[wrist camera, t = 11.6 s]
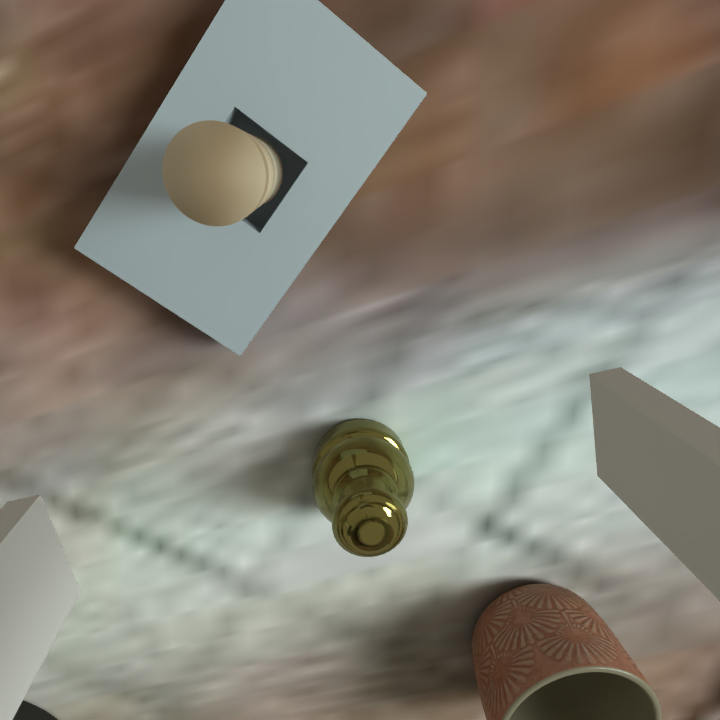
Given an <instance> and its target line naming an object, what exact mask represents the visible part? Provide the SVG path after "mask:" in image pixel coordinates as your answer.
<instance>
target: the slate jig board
mask: <svg viewBox="0 0 720 720" xmlns="http://www.w3.org/2000/svg"><path fill="white" fill-rule="evenodd" d="M426 95H427V93H426V92H425V91H424V90H423V89H422V88H420V87H419V86H418V85H417V84H416V83H414V82H413V81H412V80H411V79H410V78H409V77H407V76H406V75H405V74H404V73H403V72H402V71H400V70H399V69H398V68H397V67H396V66H395V65H393V64H392V63H391V62H390V61H389V60H388V59H386V58H385V57H384V56H383V55H382V54H380V53H379V52H378V51H377V50H376V49H375V48H373V47H372V46H371V45H370V44H369V43H368V42H366V41H365V40H364V39H363V38H362V37H361V36H359V35H358V34H357V33H356V32H355V31H353V30H352V29H351V28H350V27H349V26H348V25H346V24H345V23H344V22H343V21H342V20H341V19H339V18H338V17H337V16H336V15H335V14H334V13H332V12H331V11H330V10H329V9H328V8H327V7H325V6H324V5H323V4H322V3H321V2H319V1H318V0H225V1H224V3H223V5H222V6H221V8H220V9H219V11H218V13H217V14H216V16H215V18H214V19H213V21H212V23H211V24H210V26H209V28H208V29H207V31H206V32H205V34H204V36H203V37H202V39H201V41H200V42H199V44H198V46H197V47H196V49H195V50H194V52H193V54H192V55H191V57H190V59H189V60H188V62H187V64H186V65H185V67H184V68H183V70H182V72H181V73H180V75H179V77H178V78H177V80H176V82H175V83H174V85H173V86H172V88H171V90H170V91H169V93H168V95H167V96H166V98H165V100H164V101H163V103H162V104H161V106H160V108H159V109H158V111H157V113H156V114H155V116H154V118H153V119H152V121H151V122H150V124H149V126H148V127H147V129H146V131H145V132H144V134H143V136H142V137H141V139H140V141H139V142H138V144H137V145H136V147H135V149H134V150H133V152H132V154H131V155H130V157H129V159H128V160H127V162H126V163H125V165H124V167H123V168H122V170H121V172H120V173H119V175H118V177H117V178H116V180H115V181H114V183H113V185H112V186H111V188H110V190H109V191H108V193H107V195H106V196H105V198H104V199H103V201H102V203H101V204H100V206H99V208H98V209H97V211H96V213H95V214H94V216H93V217H92V219H91V221H90V222H89V224H88V226H87V227H86V229H85V231H84V232H83V234H82V235H81V237H80V239H79V240H78V242H77V244H76V245H75V247H74V248H75V249H76V250H78V251H79V252H81V253H82V254H84V255H85V256H87V257H88V258H90V259H92V260H93V261H95V262H96V263H98V264H99V265H101V266H102V267H104V268H105V269H107V270H108V271H110V272H112V273H113V274H115V275H116V276H118V277H119V278H121V279H122V280H124V281H125V282H127V283H129V284H130V285H132V286H133V287H135V288H136V289H138V290H139V291H141V292H142V293H144V294H145V295H147V296H149V297H150V298H152V299H153V300H155V301H156V302H158V303H159V304H161V305H162V306H164V307H166V308H167V309H169V310H170V311H172V312H173V313H175V314H176V315H178V316H179V317H181V318H182V319H184V320H186V321H187V322H189V323H190V324H192V325H193V326H195V327H196V328H198V329H199V330H201V331H203V332H204V333H206V334H207V335H209V336H210V337H212V338H213V339H215V340H216V341H218V342H219V343H221V344H223V345H224V346H226V347H227V348H229V349H230V350H232V351H233V352H235V353H236V354H238V355H240V356H241V354H242V353H243V351H244V350H245V349H246V347H247V346H248V344H249V343H250V341H251V340H252V339H253V337H254V336H255V334H256V333H257V332H258V330H259V329H260V327H261V326H262V325H263V323H264V322H265V320H266V319H267V318H268V316H269V315H270V313H271V312H272V311H273V309H274V308H275V306H276V305H277V304H278V302H279V301H280V299H281V298H282V297H283V295H284V294H285V292H286V291H287V290H288V288H289V287H290V285H291V284H292V283H293V281H294V280H295V278H296V277H297V276H298V274H299V273H300V271H301V270H302V269H303V267H304V266H305V264H306V263H307V262H308V260H309V259H310V257H311V256H312V254H313V253H314V252H315V250H316V249H317V247H318V246H319V245H320V243H321V242H322V240H323V239H324V238H325V236H326V235H327V233H328V232H329V231H330V229H331V228H332V226H333V225H334V224H335V222H336V221H337V219H338V218H339V217H340V215H341V214H342V212H343V211H344V210H345V208H346V207H347V205H348V204H349V203H350V201H351V200H352V198H353V197H354V196H355V194H356V193H357V191H358V190H359V189H360V187H361V186H362V184H363V183H364V182H365V180H366V179H367V177H368V176H369V174H370V173H371V172H372V170H373V169H374V167H375V166H376V165H377V163H378V162H379V160H380V159H381V158H382V156H383V155H384V153H385V152H386V151H387V149H388V148H389V146H390V145H391V144H392V142H393V141H394V139H395V138H396V137H397V135H398V134H399V132H400V131H401V130H402V128H403V127H404V125H405V124H406V123H407V121H408V120H409V118H410V117H411V116H412V114H413V113H414V111H415V110H416V109H417V107H418V106H419V104H420V103H421V102H422V100H423V99H424V97H425V96H426ZM205 120H215V121H221V122H225V123H228V124H230V125H233V126H235V127H237V128H239V129H241V130H243V131H245V132H246V133H248V134H250V135H254V136H257V137H260V138H262V139H263V140H265V141H267V142H268V143H269V144H270V145H271V146H272V147H273V148H274V149H275V151H276V152H277V154H278V156H279V158H280V160H281V164H282V169H283V177H282V183H281V186H280V188H279V190H278V192H277V193H276V195H275V196H274V197H273V198H272V199H271V200H270V201H269V202H267V203H266V204H264V205H262V206H260V207H258V208H257V209H256V210H255V211H253V212H252V213H251V214H249V215H248V216H247V217H246V218H244V219H242V220H241V221H239V222H237V223H234V224H231V225H227V226H208V225H204V224H200V223H198V222H195V221H194V220H192V219H190V218H188V217H187V216H186V215H184V214H183V213H182V212H181V211H180V210H179V209H178V208H177V207H176V206H175V205H174V203H173V202H172V200H171V199H170V197H169V195H168V193H167V191H166V188H165V185H164V181H163V175H162V164H163V157H164V154H165V151H166V149H167V146H168V144H169V143H170V141H171V140H172V138H173V137H174V136H175V135H176V134H177V133H178V132H179V131H180V130H182V129H183V128H185V127H186V126H188V125H190V124H192V123H195V122H199V121H205Z"/></svg>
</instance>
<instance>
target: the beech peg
mask: <svg viewBox="0 0 720 720" xmlns="http://www.w3.org/2000/svg"><path fill="white" fill-rule="evenodd" d="M162 175H163V181H164V185H165V188H166V191H167V193H168V195H169V197H170V199H171V200H172V202H173V203H174V205H175V206H176V207H177V208H178V209H179V210H180V211H181V212H182V213H183V214H184V215H186V216H187V217H188V218H190V219H192V220H194V221H195V222H198V223H200V224H204V225H208V226H227V225H231V224H234V223H237V222H239V221H241V220H242V219H244V218H246V217H247V216H248V215H249V214H251V213H252V212H253V211H255V210H256V209H257V208H258V207H260V206H262V205H264V204H266V203H267V202H269V201H270V200H271V199H272V198H273V197H274V196H275V195H276V193H277V192H278V190H279V188H280V186H281V183H282V177H283V169H282V164H281V160H280V158H279V156H278V154H277V152H276V151H275V149H274V148H273V147H272V146H271V145H270V144H269V143H268V142H267V141H265V140H263V139H262V138H260V137H257V136H254V135H250V134H248V133H246V132H245V131H243V130H241V129H239V128H237V127H235V126H233V125H230V124H228V123H225V122H221V121H215V120H205V121H199V122H195V123H192V124H190V125H188V126H186V127H185V128H183V129H182V130H180V131H179V132H178V133H177V134H176V135H175V136H174V137H173V138H172V140H171V141H170V143H169V144H168V146H167V149H166V151H165V154H164V157H163V164H162Z"/></svg>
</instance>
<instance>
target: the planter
mask: <svg viewBox="0 0 720 720" xmlns="http://www.w3.org/2000/svg"><path fill="white" fill-rule="evenodd" d="M472 660H473V667H474V672H475V677H476V681H477V685H478V690H479V694H480V698H481V701H482V705H483V709H484V712H485V716H486V720H662V709H661V705H660V702H659V700H658V697H657V695H656V693H655V692H654V690H653V689H652V687H651V686H650V685H649V683H648V682H647V680H646V679H645V677H644V676H643V675H642V673H641V672H640V670H639V669H638V667H637V666H636V665H635V663H634V662H633V660H632V659H631V657H630V656H629V655H628V653H627V652H626V650H625V649H624V648H623V646H622V645H621V643H620V642H619V641H618V639H617V638H616V636H615V635H614V634H613V632H612V631H611V630H610V629H609V627H608V626H607V625H606V623H605V622H604V621H603V620H602V618H601V617H600V616H599V615H598V614H597V612H596V611H595V610H594V609H593V608H592V607H591V606H590V605H589V604H588V603H587V602H586V601H585V600H584V599H582V598H581V597H580V596H578V595H577V594H575V593H574V592H572V591H570V590H568V589H565V588H563V587H560V586H556V585H551V584H530V585H524V586H520V587H517V588H514V589H512V590H510V591H508V592H506V593H504V594H502V595H501V596H499V597H498V598H496V599H495V600H494V601H493V602H492V603H491V604H490V605H488V607H487V608H486V609H485V610H484V612H483V613H482V614H481V616H480V618H479V619H478V621H477V623H476V626H475V629H474V632H473V637H472Z"/></svg>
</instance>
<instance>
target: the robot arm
mask: <svg viewBox="0 0 720 720" xmlns="http://www.w3.org/2000/svg"><path fill="white" fill-rule="evenodd" d="M589 375H590V387H591V400H592V413H593V425H594V438H595V450H596V463H597V475H598V477H599V478H600V479H601V480H602V481H603V482H604V483H605V484H606V485H607V486H608V487H609V488H610V489H611V490H612V491H613V492H614V493H615V494H616V495H617V496H618V497H619V498H620V499H621V500H622V501H623V502H624V503H625V504H626V505H627V506H628V507H629V508H630V509H631V510H632V511H633V512H634V513H635V514H636V515H637V516H638V518H639V519H640V520H641V521H642V522H643V523H644V524H645V525H646V526H647V527H648V528H649V529H650V530H651V531H652V532H653V533H654V534H655V535H656V536H657V537H658V538H659V539H660V540H661V541H662V542H663V543H664V544H665V545H666V546H667V547H668V548H669V549H670V550H671V551H672V552H673V553H674V554H675V555H676V556H677V557H678V559H679V560H680V561H681V562H682V563H683V564H684V565H685V566H686V567H687V568H688V569H689V570H690V571H691V572H692V573H693V574H694V575H695V576H696V577H697V578H698V579H699V580H700V581H701V582H702V583H703V584H704V585H705V586H706V587H707V588H708V589H709V590H710V591H711V592H712V593H713V594H714V595H715V596H716V597H717V598H718V600H719V601H720V428H719V427H718V426H716V425H714V424H713V423H711V422H709V421H708V420H706V419H704V418H703V417H701V416H700V415H698V414H696V413H695V412H693V411H691V410H690V409H688V408H686V407H685V406H683V405H682V404H680V403H678V402H677V401H675V400H673V399H672V398H670V397H668V396H667V395H665V394H663V393H662V392H660V391H659V390H657V389H655V388H654V387H652V386H650V385H649V384H647V383H645V382H644V381H642V380H641V379H639V378H637V377H636V376H634V375H632V374H631V373H629V372H627V371H626V370H624V369H623V368H621V367H620V368H615V369H611V370H606V371H602V372H597V373H593V374H589ZM80 592H81V591H80V588H79V586H78V584H77V581H76V579H75V577H74V574H73V572H72V569H71V567H70V565H69V562H68V560H67V557H66V555H65V553H64V550H63V548H62V545H61V543H60V541H59V538H58V536H57V533H56V531H55V529H54V526H53V524H52V521H51V519H50V517H49V514H48V512H47V509H46V507H45V505H44V502H43V500H42V497H41V495H36V496H32V497H27V498H23V499H18V500H14V501H9V502H7V503H6V504H5V505H4V506H3V507H2V508H1V510H0V720H57V719H56V718H55V717H53V716H52V715H50V714H49V713H47V712H46V711H44V710H42V709H40V708H38V707H36V706H34V705H31V704H29V703H26V702H23V699H24V697H25V695H26V693H27V691H28V690H29V688H30V686H31V684H32V682H33V680H34V678H35V676H36V675H37V673H38V671H39V669H40V667H41V665H42V663H43V661H44V660H45V658H46V656H47V654H48V652H49V650H50V648H51V646H52V644H53V643H54V641H55V639H56V637H57V635H58V633H59V631H60V629H61V628H62V626H63V624H64V622H65V620H66V618H67V616H68V614H69V612H70V611H71V609H72V607H73V605H74V603H75V601H76V599H77V597H78V596H79V594H80Z"/></svg>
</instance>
